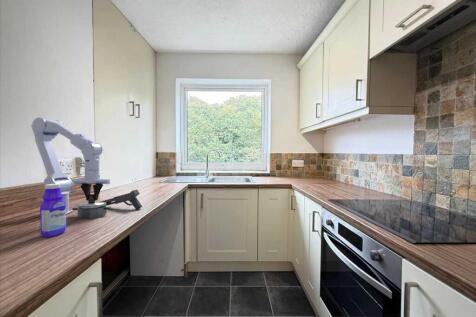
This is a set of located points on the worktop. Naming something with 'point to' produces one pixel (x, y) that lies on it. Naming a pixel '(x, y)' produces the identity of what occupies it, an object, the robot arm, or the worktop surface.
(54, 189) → the bottle
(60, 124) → the robot arm
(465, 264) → the worktop surface
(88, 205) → the lid
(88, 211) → the pot
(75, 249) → the worktop surface
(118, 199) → the handgun
